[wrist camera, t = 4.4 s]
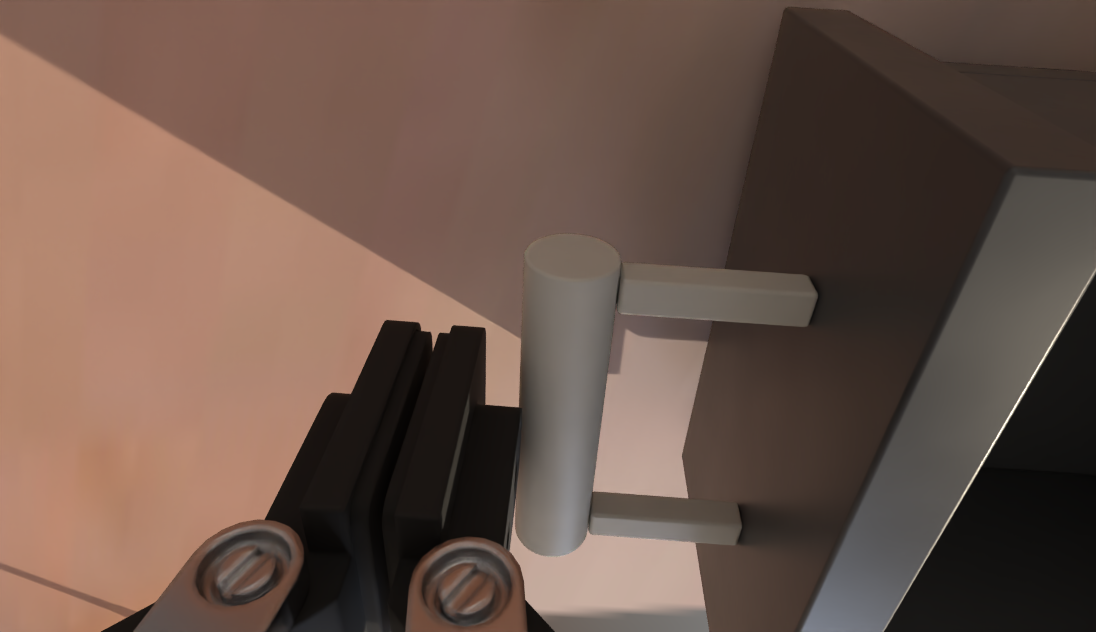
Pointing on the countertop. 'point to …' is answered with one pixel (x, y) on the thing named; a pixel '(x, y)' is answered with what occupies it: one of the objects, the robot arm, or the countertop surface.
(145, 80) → the countertop surface
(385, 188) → the countertop surface
